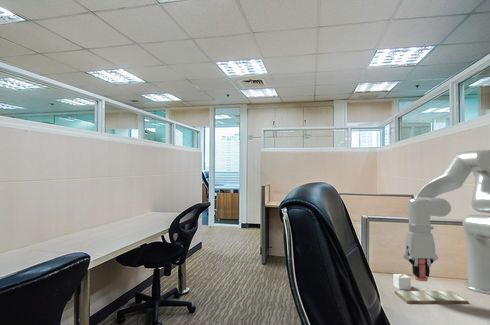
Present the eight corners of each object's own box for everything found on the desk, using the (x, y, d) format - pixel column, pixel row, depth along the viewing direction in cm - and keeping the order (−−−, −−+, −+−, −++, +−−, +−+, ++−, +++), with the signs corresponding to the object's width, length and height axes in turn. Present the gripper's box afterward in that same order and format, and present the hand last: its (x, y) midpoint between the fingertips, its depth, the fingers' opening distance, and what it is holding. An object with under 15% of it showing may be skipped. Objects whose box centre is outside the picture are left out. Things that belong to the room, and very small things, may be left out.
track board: (451, 293, 122) (450, 290, 122) (468, 303, 112) (468, 300, 112) (394, 293, 122) (394, 290, 122) (407, 303, 112) (407, 300, 112)
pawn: (423, 277, 120) (422, 254, 120) (430, 281, 115) (429, 257, 116) (412, 277, 120) (411, 254, 120) (418, 281, 115) (417, 257, 116)
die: (404, 285, 132) (404, 273, 132) (410, 289, 127) (410, 277, 127) (393, 285, 132) (393, 273, 132) (399, 289, 127) (398, 277, 127)
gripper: (434, 227, 122) (436, 273, 121) (394, 227, 123) (395, 272, 121) (446, 231, 114) (448, 279, 113) (403, 230, 115) (405, 278, 114)
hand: (421, 275), depth 117 cm, fingers closed on pawn, 3 cm apart
